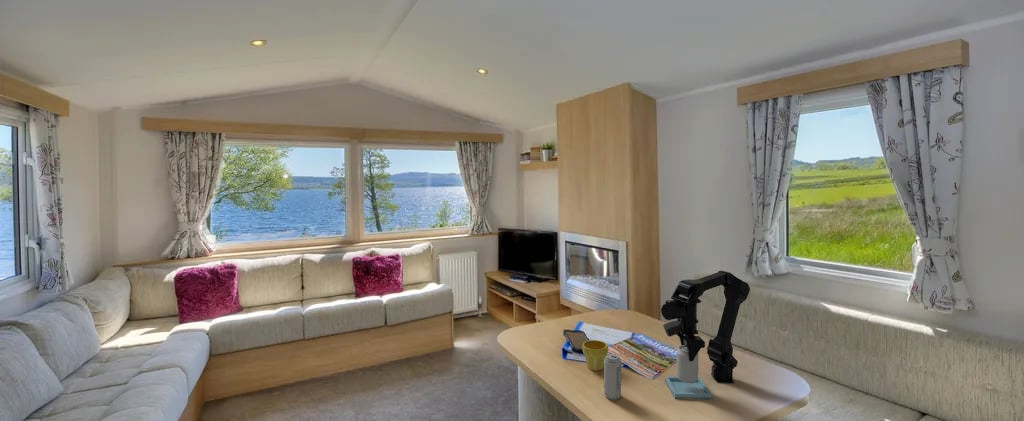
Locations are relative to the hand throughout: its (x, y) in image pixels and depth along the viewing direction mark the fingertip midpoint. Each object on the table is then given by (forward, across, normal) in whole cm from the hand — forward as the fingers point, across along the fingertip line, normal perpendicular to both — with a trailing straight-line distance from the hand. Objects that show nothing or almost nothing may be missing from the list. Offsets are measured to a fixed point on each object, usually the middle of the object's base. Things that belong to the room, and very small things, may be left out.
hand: (687, 356), depth 157 cm
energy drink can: (+13, +7, -28) cm, 32 cm away
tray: (+13, 0, 0) cm, 13 cm away
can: (+9, 0, 0) cm, 9 cm away
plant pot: (+13, -16, -32) cm, 38 cm away
